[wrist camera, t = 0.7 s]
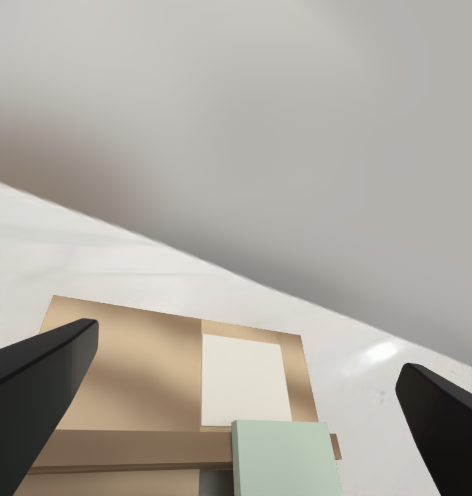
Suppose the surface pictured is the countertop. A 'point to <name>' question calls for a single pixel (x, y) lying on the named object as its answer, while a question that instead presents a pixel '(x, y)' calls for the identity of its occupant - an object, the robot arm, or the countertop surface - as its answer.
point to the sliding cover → (283, 459)
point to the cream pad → (241, 382)
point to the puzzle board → (147, 406)
